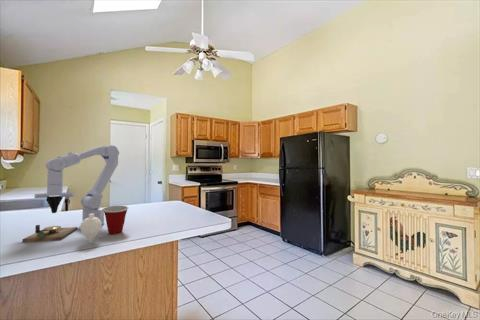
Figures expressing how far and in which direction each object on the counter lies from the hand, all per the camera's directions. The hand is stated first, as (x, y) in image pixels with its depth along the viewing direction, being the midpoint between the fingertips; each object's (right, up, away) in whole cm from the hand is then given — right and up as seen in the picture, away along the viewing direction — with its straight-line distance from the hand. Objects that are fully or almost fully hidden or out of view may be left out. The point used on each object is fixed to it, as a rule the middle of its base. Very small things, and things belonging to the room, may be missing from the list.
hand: (54, 212), depth 110 cm
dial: (+2, -6, -6) cm, 9 cm away
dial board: (+2, -9, -4) cm, 11 cm away
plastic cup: (+29, -10, +1) cm, 30 cm away
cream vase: (+26, -10, -13) cm, 31 cm away
